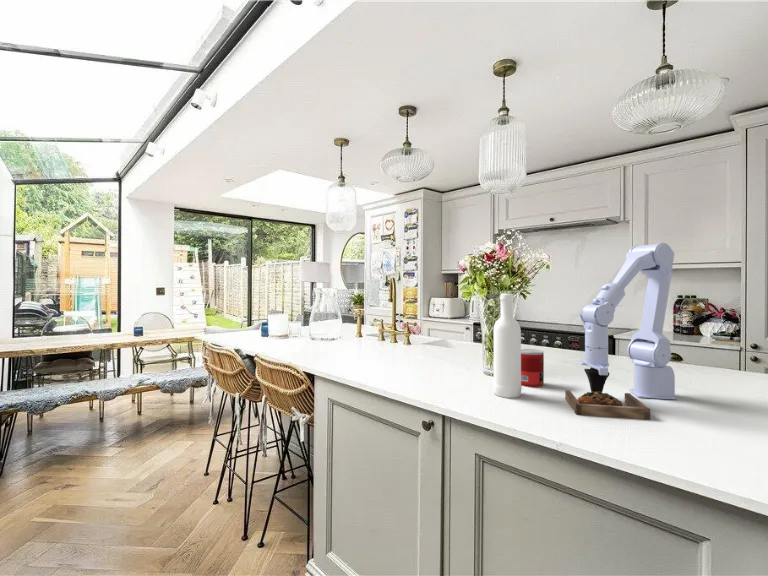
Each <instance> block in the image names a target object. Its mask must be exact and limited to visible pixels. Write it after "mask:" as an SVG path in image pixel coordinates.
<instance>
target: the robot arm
mask: <svg viewBox="0 0 768 576" xmlns="http://www.w3.org/2000/svg"><path fill="white" fill-rule="evenodd" d="M674 258H675V252H674V250H673V249H672V247H671V246H670V245H669V244H668V243H667V242H660V243H654V244H653V243H652V244H646V245H645V244H644V245H643V244H642V245H638V244H637V245H634V246H633V245H632V247H630V249H629V250H628V252H627V253H626V254H625V261H624V263H623V265H622V267H621V268H620V269H619V271H618V272H617V275H616V276H615V278H614V279H613V280H612V282H610V283H605V284H603V285H602V286H601V288H600V289H601V290H600V291H599V292H598V293H597V294H596V296H595V297H594V298H593V300H592V301H591V303H589V304H587V305H585V306H584V307H583V308H582V309H581V312H580V314H579V318H580V321H581V322H582V325H583V329H584V357H585V358H584V361H580V365H581V366H586V367H588V368H584V369H583V370H584V372H585V374H586V376H587V380H588V383H589V388H590V392H592V391H593V392H597V391H598V392H602V393H604V387H605V384H606V381H607V380H608V377H609V376H610V372H609V367H610V363H609V325H610V324H611V323H612V322H613V321H614V317H615V315H614V314H615V311H616V308H617V306H619V304H620V303H621V301H622V300H623V299H624V298H625V296H626V291H625V289H626V287H627V286H628V285H629V284H630V283H631V282H632V281H633V279H635V277H636V276H637V275H638V274H639V273H640V272H641V273H642V274H644V275H645V276H646V277H647V279H648V281H647V286H646V291H645V292H646V293H645V298H644V304H643V305H644V306H643V311H642V318H641V322H640V327H639V328H640V329H639V330H638V331H636V332H635V333H634V334H632V336H631V339H630V342H629V343H628V346H627V349H626V350H627V351H626V352H627V356H628V357H629V359H631V363H632V364H633V368H634V369H633V388H629V389H628V391H629V392H630V393H632V395H635V396H636V397H637V398H641V399H642V398H643V399H659V400H663V399H664V400H676V399H677V398H676V397H675V395H676V394H675V392H676V391H675V389H676V387H675V386H676V382H675V381H676V379H675V377H676V376H675V372H674V368H673V367H672V366H670V365H668V364H669V363H670V361H671V359H672V352H671V351H672V350H671V340H670V339H669V338H668V337H666V335H664V334H663V333H664V332H663V330H664V325H665V318H666V313H667V312H666V311H667V307H668V299H669V295H670V294H669V292H670V288H671V281H672V275H673V274H672V272H673V266H674ZM649 341H650V342H649Z"/></svg>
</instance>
